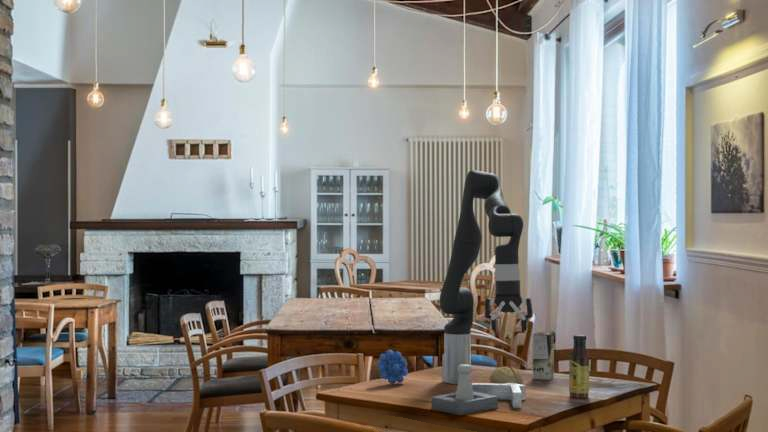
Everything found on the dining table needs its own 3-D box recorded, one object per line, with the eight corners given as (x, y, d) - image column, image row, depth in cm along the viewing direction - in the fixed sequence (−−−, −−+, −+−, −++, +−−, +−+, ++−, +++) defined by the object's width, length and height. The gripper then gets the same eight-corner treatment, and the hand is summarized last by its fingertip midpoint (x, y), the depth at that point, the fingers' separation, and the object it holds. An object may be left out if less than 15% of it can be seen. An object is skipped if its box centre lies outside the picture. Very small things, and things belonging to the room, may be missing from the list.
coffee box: (550, 380, 296) (550, 335, 297) (532, 379, 298) (532, 334, 299) (554, 376, 305) (554, 332, 305) (536, 375, 307) (536, 331, 307)
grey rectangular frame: (431, 408, 248) (431, 396, 248) (469, 401, 258) (469, 390, 258) (460, 415, 239) (460, 403, 239) (497, 407, 249) (497, 396, 249)
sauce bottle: (566, 394, 270) (566, 333, 270) (585, 394, 270) (585, 333, 270) (572, 399, 263) (572, 336, 263) (592, 398, 264) (591, 335, 264)
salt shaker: (473, 410, 245) (473, 366, 245) (454, 409, 246) (454, 365, 247) (475, 406, 251) (475, 363, 251) (456, 405, 252) (456, 362, 252)
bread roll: (509, 386, 286) (509, 362, 286) (529, 394, 271) (529, 369, 271) (483, 387, 283) (483, 364, 283) (503, 395, 268) (503, 371, 269)
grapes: (382, 387, 282) (382, 352, 282) (374, 384, 288) (374, 349, 288) (413, 384, 287) (413, 350, 287) (404, 381, 293) (404, 347, 293)
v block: (517, 408, 248) (517, 393, 249) (468, 397, 264) (468, 383, 264) (543, 403, 256) (543, 388, 256) (494, 393, 272) (494, 379, 272)
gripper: (532, 278, 255) (534, 331, 254) (487, 278, 259) (488, 331, 259) (528, 279, 248) (530, 333, 247) (481, 279, 252) (483, 333, 252)
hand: (509, 332), depth 253 cm, fingers open, 8 cm apart
